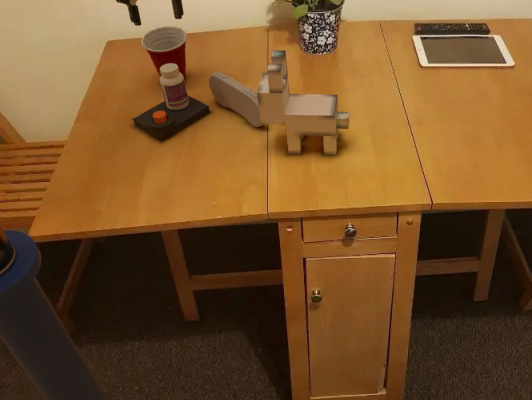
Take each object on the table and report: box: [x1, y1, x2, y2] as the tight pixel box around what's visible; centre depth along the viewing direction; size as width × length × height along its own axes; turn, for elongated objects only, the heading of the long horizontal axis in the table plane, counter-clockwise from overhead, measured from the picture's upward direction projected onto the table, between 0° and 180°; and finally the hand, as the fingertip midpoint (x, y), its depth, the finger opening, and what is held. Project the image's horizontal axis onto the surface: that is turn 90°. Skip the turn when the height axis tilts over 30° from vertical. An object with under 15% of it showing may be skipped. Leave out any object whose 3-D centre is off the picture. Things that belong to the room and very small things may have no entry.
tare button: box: [153, 111, 167, 124], centre depth 127 cm, size 3×3×2 cm
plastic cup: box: [140, 25, 188, 81], centre depth 142 cm, size 11×11×12 cm
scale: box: [132, 95, 211, 142], centre depth 132 cm, size 14×10×4 cm
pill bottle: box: [159, 63, 189, 110], centre depth 131 cm, size 5×5×10 cm
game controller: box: [208, 71, 263, 128], centre depth 131 cm, size 20×2×8 cm, turn 44°
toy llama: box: [256, 49, 350, 156], centre depth 118 cm, size 8×18×20 cm, turn 85°
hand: (158, 22), depth 116 cm, fingers open, 8 cm apart
